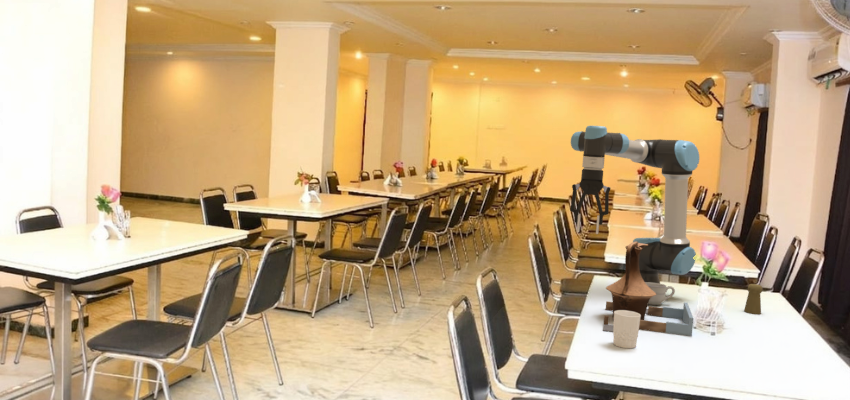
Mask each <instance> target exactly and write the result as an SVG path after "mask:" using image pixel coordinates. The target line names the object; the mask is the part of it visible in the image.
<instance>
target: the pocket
mask: <svg viewBox="0 0 850 400" xmlns="http://www.w3.org/2000/svg"><path fill="white" fill-rule="evenodd" d="M662 308H663V313H662V317H661V318H669V319H676V320H677V319H678V320H682V323H680V322H673V321H665V323H666V332H665V334H672V335H680V336H681V335H682V336H689V337H692V336H693V327H694V325H693V324H694V316H693V313H692V311H691V308H690V306H689V304H688V302H685V301H684V302H683V307H682V308H677V307H670V306H662Z"/></svg>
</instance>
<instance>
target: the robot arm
mask: <svg viewBox="0 0 850 400" xmlns="http://www.w3.org/2000/svg"><path fill="white" fill-rule="evenodd" d="M570 146H571V148H572V149H573V150H574V151H577V152H583V153H582V156H583V157H582V164H581V165H582V169H581V179H580V182H579V183H576V184H572V185H571V188H572V196H571V203H570V207H569V208H570V209H569V210H570V212H572V213H573V214H574V223H577V224H576V233H580V229H581V228H580V225H581V215H582V214H581V213H580V210H581V209H582V206H583V203H584V201H585V198H586V196H587V195H591V196H592V195H593V196H594V197H595V201H596V205H597V209H598V213H599V214H598V215H597V216H596V217H597V218H596V228H595V229H596V230H595V234H596V235H598V234H599V229H600V226H602V225H603V220H604V216H608V215H609V211H610V210H609V209H610V208H609V207H610V206H609V203H610V201H609V199H610V198H609V196H610V195H609V193H610V191H611V187H610V186H606V185H604V182H603V179H604V170H603V169H604V168H605V167H604V166H605V156H609V157H616V158H622V159H623V158H624V159H627V160H628V159H629V160H630V161H632V162H633V163H636V164H641V165H645V166H648V167H653V168H657V169H661V175H662V176H663V177H664V178H665V180H664V183H665V185H664V188H665V189H664V210H663V211H664V212H663V213H664V214H663V215H664V218H663V236H662V237H635V238H634V239H633V240H632V243H633V242H635V241H636V242H638V243H643V244H648V246H645V247H644V248H643V249H642V250H641V252H640V256H639V270H640V274H641V277H642V279H643V280H644V282H651V283H659V284H661V281H660V277H659V272H660V271H661V272H665V273H670V274H671V275H672V274H673V275H679V276H682V275H687V274H688V273H689V272H690V271H691V270H692V269H693V267H694V265H695V263H696V259H695V260H694V259H693V257H694V256H695V255H696V251H695V249H694V248H693V247H691V245H690V244H691V240H689V238H688V237H687V221H688V220H687V219H688V194H689V189H688V188H689V187H688V186H689V178H690V177H691V176H693V171H695V170H696V169H697V168H698V166H699V163H700V153H699V149H698V147H697V146H696V144H695V143H694V142H692V141H688V140H684V139H683V140H682V139H660V138H659V139H642V138H641V139H640V138H639V139H634V140H632V139H629V137H628V136H627V134H624V133H620V132H608V128H607V127H606V126H604V125H603V126H601V125H587V126H586V127H585V131H584V130H583V131H582V130H581V131H575V132H574V133H573V134H572V135H571V137H570ZM579 187H580V189H581V190H582V194H581V197H580V199H579V201H578V204H577V206H575V205H576V199H577V193H578V190H579ZM602 189H603V192H604V193H605V194H604V211H603V207H602V203H601V198H600V194H599V193H600V192H601V190H602ZM575 207H576V208H575ZM696 256H697V255H696Z"/></svg>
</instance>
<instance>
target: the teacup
mask: <svg viewBox="0 0 850 400" xmlns="http://www.w3.org/2000/svg"><path fill="white" fill-rule="evenodd" d="M645 283H646V284H647V285H648V287H649V288H650V289H651V290H653V291H654V292H655V293H656V295H655V296H653V297H651V298H650V300H649V302H648V305H649V306H650V305H651V306H659V305H661V304H662V303H664V302H665V301H667V300H668V299H669V298H672V297H673V296H674V295H675V293H676V290H675V287H673V286H671V285H668V286H667V285H666V284H663V283H660V284H659V283H651V282H645ZM670 289H671V291H672V292H671V293H670V294H667V295H666V293H667V292H668V290H670Z"/></svg>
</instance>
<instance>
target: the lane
mask: <svg viewBox="0 0 850 400" xmlns="http://www.w3.org/2000/svg"><path fill="white" fill-rule="evenodd" d="M647 309H648V314H647V316H653V317H661V318H663V317H662V313H663V307H658V306H652V305H651V306H650V305H649V306H648V305H647ZM611 310H613V301H607V300H606V304H605V311H611ZM603 318H604V319H603V325H604V324H606V325H609V320H610V319H609V318H610V315H606V314H605V315H603ZM640 329H642V330H641V331H648V330H649V331H650V332H658V333H665V334H666V322H662V321H661V322H660V321H652V320H645V319H644V320H640V325H639V330H640Z"/></svg>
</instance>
